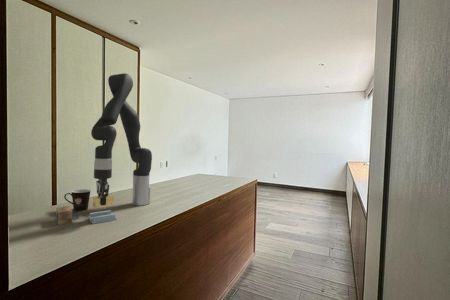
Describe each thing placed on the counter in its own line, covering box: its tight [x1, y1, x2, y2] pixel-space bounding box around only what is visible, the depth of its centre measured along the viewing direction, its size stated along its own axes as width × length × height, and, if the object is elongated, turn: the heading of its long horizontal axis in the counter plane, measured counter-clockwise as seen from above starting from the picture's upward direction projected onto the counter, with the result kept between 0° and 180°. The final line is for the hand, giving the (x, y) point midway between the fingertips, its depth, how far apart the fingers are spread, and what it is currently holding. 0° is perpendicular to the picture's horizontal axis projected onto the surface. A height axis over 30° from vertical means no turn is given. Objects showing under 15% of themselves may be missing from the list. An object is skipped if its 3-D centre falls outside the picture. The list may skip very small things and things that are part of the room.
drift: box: [53, 211, 80, 225], centre depth 110 cm, size 9×3×3 cm, turn 149°
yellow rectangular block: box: [92, 194, 115, 208], centre depth 114 cm, size 8×4×4 cm, turn 137°
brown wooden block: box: [55, 205, 73, 226], centre depth 109 cm, size 5×8×6 cm, turn 41°
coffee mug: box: [63, 188, 91, 212], centre depth 127 cm, size 12×9×10 cm
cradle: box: [88, 209, 117, 225], centre depth 114 cm, size 10×8×3 cm
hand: (101, 203), depth 114 cm, fingers closed on yellow rectangular block, 4 cm apart
